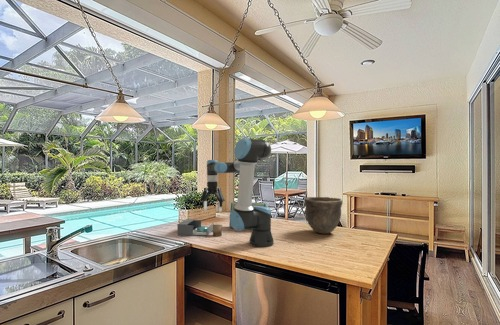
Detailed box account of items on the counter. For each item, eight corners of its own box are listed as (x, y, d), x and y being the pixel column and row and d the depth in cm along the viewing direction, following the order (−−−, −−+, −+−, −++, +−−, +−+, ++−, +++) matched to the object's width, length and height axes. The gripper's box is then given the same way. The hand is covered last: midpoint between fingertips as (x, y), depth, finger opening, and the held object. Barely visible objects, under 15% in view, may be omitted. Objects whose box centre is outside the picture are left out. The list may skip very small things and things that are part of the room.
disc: (206, 232, 193) (206, 228, 193) (195, 231, 194) (195, 228, 194) (209, 229, 201) (209, 226, 201) (198, 229, 202) (198, 225, 202)
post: (220, 236, 186) (220, 226, 186) (212, 236, 187) (212, 226, 187) (222, 234, 192) (222, 224, 192) (214, 234, 193) (214, 224, 193)
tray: (207, 235, 188) (207, 228, 188) (190, 234, 190) (190, 228, 190) (213, 229, 205) (213, 223, 205) (198, 228, 207) (198, 222, 207)
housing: (195, 236, 188) (195, 224, 188) (177, 235, 190) (177, 224, 190) (203, 229, 207) (203, 219, 207) (187, 228, 209) (187, 218, 209)
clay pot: (309, 237, 184) (309, 200, 184) (301, 228, 210) (301, 196, 210) (348, 237, 185) (348, 200, 185) (335, 228, 210) (335, 196, 210)
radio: (229, 228, 211) (229, 196, 211) (232, 226, 218) (232, 194, 218) (266, 231, 202) (266, 197, 202) (268, 228, 210) (268, 196, 210)
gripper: (229, 181, 194) (229, 211, 194) (202, 180, 207) (202, 208, 207) (222, 181, 188) (223, 212, 187) (195, 181, 201) (195, 210, 200)
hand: (212, 210), depth 197 cm, fingers open, 13 cm apart
